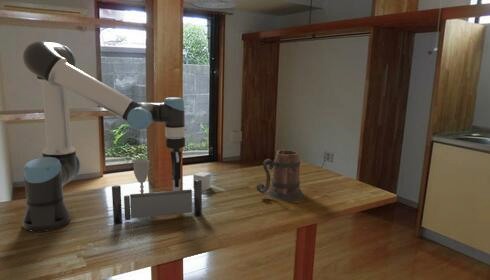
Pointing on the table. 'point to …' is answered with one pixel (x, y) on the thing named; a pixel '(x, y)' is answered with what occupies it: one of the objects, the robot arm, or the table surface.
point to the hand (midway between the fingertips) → (176, 193)
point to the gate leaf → (158, 203)
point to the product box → (203, 179)
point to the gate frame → (118, 209)
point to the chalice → (141, 171)
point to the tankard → (283, 176)
